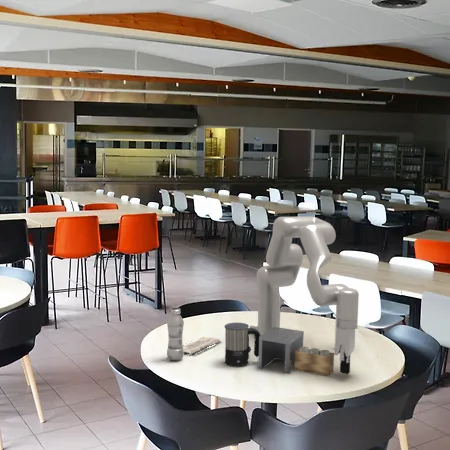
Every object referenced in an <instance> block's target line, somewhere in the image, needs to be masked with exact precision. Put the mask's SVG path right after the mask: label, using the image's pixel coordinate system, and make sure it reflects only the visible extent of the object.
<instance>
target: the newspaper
mask: <svg viewBox="0 0 450 450" xmlns="http://www.w3.org/2000/svg"><path fill="white" fill-rule="evenodd" d="M201 337H202V338H201ZM201 337H199V338H200V339H199V338H197V339H198V340H197V341H195V342H192V341H191V342H192V343H189V342H188V343H189V344H187V343H186V344H187V345H184V344H183V351H184V353H187V354H188V353H189V354H190V355H189V356H192V354H193V353H195V352H196V353H197V351H198V352H199V351H201V350H202V349H204V348H207V347H209V346H212V345H214V344H216V343H217V344H219V342H220V343H221V342H222V340H221V339H220V338H215V337H205V336H201Z"/></svg>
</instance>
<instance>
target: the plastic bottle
mask: <svg viewBox="0 0 450 450" xmlns="http://www.w3.org/2000/svg"><path fill="white" fill-rule="evenodd" d="M181 313H182V312H181V308H180V307H172V308H170V316H169V317H168V319H167V322H166V324H167V332H168V333H167V334H168V336H167V337H168V343H167V349H166V356H167V359H168V360H169V361H181V360H182V359H183V358H184V354H185V352H184V351H183V345H184V344H183V334H184V325H185V324H184V323H185V322H184V319H183V317H182V316H181Z"/></svg>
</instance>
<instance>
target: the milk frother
mask: <svg viewBox="0 0 450 450" xmlns="http://www.w3.org/2000/svg"><path fill="white" fill-rule="evenodd" d="M223 326H224V328H225V338H224V339H225V342H224V343H225V345H224V346H225V349H224V350H225V353H224V354H225V355H224V361H223V362H224V364H225V366H229V367H231V368H232V367H234V368H240V367H241V368H242V367H245V366H247V365H249V364H250V363H249V359H250V357H249V356H250V355H249V354H250V352H251V351H252V348H251V346H250V335H253V336H254V335H255V338H254V349H253V355H254V356H255V358H259V336H261V335H260V333H259V331H258V330H256V329H254V328H250V325H249V324H247V323H244V322H230V323H229V322H228V323H226V324H225V325H223Z"/></svg>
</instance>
